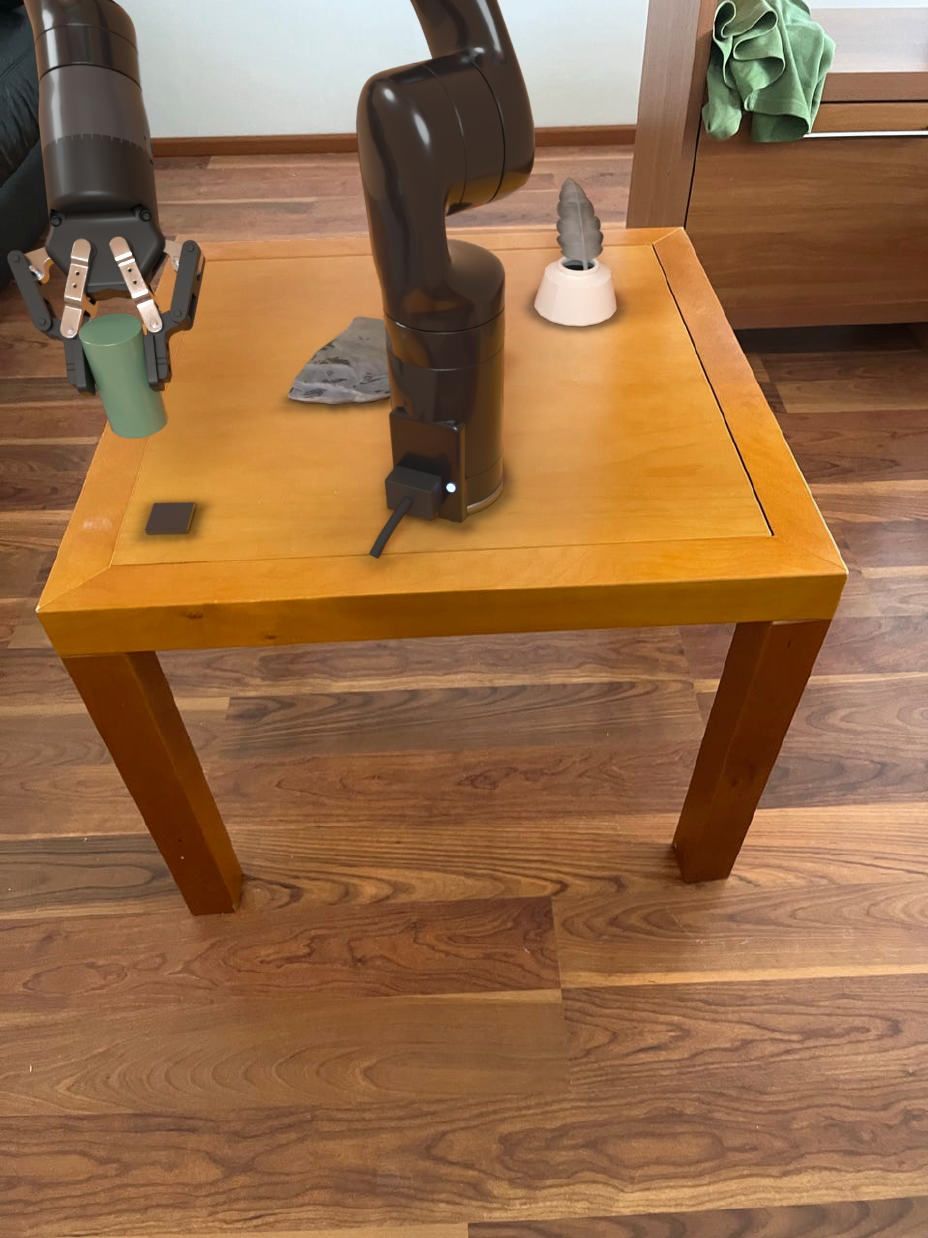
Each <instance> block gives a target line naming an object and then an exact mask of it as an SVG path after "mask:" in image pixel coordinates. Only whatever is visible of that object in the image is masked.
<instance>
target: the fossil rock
mask: <svg viewBox="0 0 928 1238" xmlns="http://www.w3.org/2000/svg"><path fill="white" fill-rule="evenodd" d="M287 397H288V399H289V400H291V401H294V402H298V403H303V404H304V403H306V404H307V403H308V404H310V403H311V404H312V403H313V404H314V403H317V404H319V403H321V404H322V403H323V404H328V405H342V404H350V403H358V404H359V403H360V404H362V403H363V404H364V403H369V402H376V401H381V400H385V399H388V398H390V388H389V376H388V363H387V351H386V337H385V325H384V319H380V318H374V317H368V316H357V317H354V318H353V319H352V320H351V321H350V322H349V325H348V326H347V328H346V329H345V330H344V331H343V332H341V333H340V334H339V335H337V336H335V337H334V338H333V339H332V340H330V341H329V342H327V343H326V344H325V345H323V346H322V347H321V348H319V349H318V350H316V352H314V354H313V355H312V357H311V358H310V359H309V360H308V361H307V362H306V363H305V364H304V366H303V367H302V369H301V370H300V372H299V373H298V374H297V375H296V376H295V378H294V380H293V382H292V385H291V388H290V389H289V391H288V395H287Z"/></svg>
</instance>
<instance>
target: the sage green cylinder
mask: <svg viewBox="0 0 928 1238" xmlns="http://www.w3.org/2000/svg"><path fill="white" fill-rule="evenodd" d="M143 335H146V334H145V330H144V326H143V324H142V322H141V320H140V319H139V318H138V317H136V316H134V315H132V314H127V313H109V314H105V315H100V316H97V317H94V318H93V319H92V320H90V321H88V322H87V323H85V324H84V325H83V326H82V327H81V329H80V331H79V338H80V341H81V344H82V347H83V349H84V352H85V355H86V358H87V361H88V364H89V367H90V370H91V373H92V375H93V378H94V381H95V388H96V391H97V392H98V395H99V398H100V401H101V404H102V407H103V410H104V412H105V416H106V418H107V421H108V424H109V427H110V430H111V431H112V433H114V435H116V436H117V437H119V438H123V439H128V440H130V439H131V440H136V439H143V438H149V437H151V436H153V435H155V434H157V433H159V432H160V431H162V430H163V429H164V428H165V427H166V426H167V424H168V422H169V414H168V410H167V406H166V403H165V400H164V396H163V393H162V392H163V391H159V392H154V391H153V390H152V389H151V388H150V387H149V384H148V377H147V367H146V357H145V348H144V337H143Z"/></svg>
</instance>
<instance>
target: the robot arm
mask: <svg viewBox="0 0 928 1238" xmlns="http://www.w3.org/2000/svg"><path fill="white" fill-rule="evenodd" d="M409 2H410V3H411V6H412V8H413V10H414V12H415V15H416V17H417V20H418V22H419V25H420V27H421V31H422V33H423V35H424V38H425V41H426V44H427V47H428V50H429V53H430V56H431V58H429V59H425V60H420V61H415V62H412V63H411V62H410V63H407V64H402V65H399V66H395V67H391V68H388V69H385V70H381V71H379V72H376V73H374V74H372V75H371V76H370V77H369V78H368V79H367V80H366V81H365V82H364V84H363V86H362V88H361V90H360V94H359V95H358V100H357V105H356V114H355V131H356V132H355V133H356V149H357V156H358V164H359V173H360V177H361V185H362V191H363V197H364V204H365V211H366V218H367V220H366V221H367V226H368V227H367V228H368V234H369V235H368V236H369V242H370V250H371V256H372V260H373V264H374V268H375V271H376V276H377V279H378V283H379V285H380V286H379V287H380V292H381V303H382V313H383V320H384V325H385V337H386V351H387V363H388V376H389V388H390V397H389V399H390V412H389V413H388V422H389V423H388V425H389V432H390V433H389V434H390V445H391V456H392V470H391V471H390V472H389V474H388V475H387V476H386V478H384V488H385V499H386V508H387V509H388V510H392V511H393V512H392V514H391V515H390V517H389V518H388V520H387V521H386V523H385V524H384V526H383V527H382V529H381V531H380V532H379V534H378V535H377V537H376V539H375V541H374V543H373V545H372V547H371V549H370V551H369V553H368V555H370V556H371V557H372V558H375V559H377V560H378V559H380V556H381V554H382V552H383V550H384V549H385V547H386V545H387V543H388V541H389V539H390V538H391V536H392V535H393V534H394V532H395V530H396V528H397V527H398V526H399V524H400V522H401V521H402V520H403V518H404V517H405V516H406V514H407V515H410V516H413V517H417V518H421V519H423V520H428V521H433V520H434V519H435V517H437V518H441V519H445V520H448V521H452V522H455V523H463V522H464V520H465V519H466V517H468V516H469V515H472V514H476V513H477V512H481V511H482V510H485V509H486V508H488V507H490V506H491V505H492V504H493V503H495V501H496V500H498V499H499V497H500V495H501V493H502V491H503V488H504V469H503V454H504V453H503V452H504V445H503V444H504V394H505V393H504V391H505V389H504V388H505V342H506V341H505V337H506V302H507V301H506V300H507V298H506V297H507V295H506V293H507V279H506V277H507V276H506V270H505V267H504V265H503V263H502V262H501V260H500V258H499V257H498V256H497V255H495V254H494V252H492V251H490V250H488V249H486V248H484V247H482V246H480V245H477V244H476V243H473V242H469V241H467V240H461V239H455V238H448V236H447V226H446V218H447V217H450V216H455V215H456V214H460V213H464V212H466V211H470V210H473V209H476V208H480V207H482V206H485V205H488V204H492V203H495V202H498V201H501V200H504V199H507V198H509V197H511V196H513V195H515V194H517V193H518V192H520V191H521V190H522V189H523V188H524V187H525V186H526V184H527V183H528V181H529V179H530V178H531V174H532V171H533V168H534V165H535V157H536V133H535V122H534V116H533V111H532V105H531V100H530V96H529V93H528V89H527V85H526V81H525V78H524V74H523V72H522V68H521V65H520V62H519V59H518V56H517V53H516V50H515V48H514V47H515V46H514V44H513V42H512V38H511V35H510V32H509V30H508V26H507V24H506V21H505V18H504V16H503V15H504V14H503V13H502V9H501V7H500V3H499V0H409ZM23 3H24V7H25V9H26V12H27V15H28V19H29V22H30V26H31V28H32V33H33V42H34V51H35V60H36V68H37V78H38V79H37V80H38V90H39V91H38V92H39V94H38V95H39V96H38V97H39V99H38V124H39V125H38V126H39V134H40V135H39V137H40V145H41V153H42V154H41V155H42V162H43V165H42V166H43V173H44V182H45V192H46V202H47V203H46V204H47V213H48V220H49V231H48V234H47V237H46V238H45V242H44V246H43V247H40V248H37V249H35V250H32V251H28V252H26V253H23V252H22V251H20V250H17V249H14V250H11V251H10V252H9V253H8V254H7V258H6V259H7V262H8V265H9V267H10V269H11V273H12V274H13V277H14V280H15V282H16V284H17V287H18V289H19V292H20V294H21V297H22V299H23V302H24V304H25V307H26V308H27V311H28V314H29V317H30V319H31V321H32V323H33V326H34V327H35V329H36V330H38V331H39V332H40V333H42V334H43V335H45V336H46V337H48V338H49V339H51V340H58V341H62V343H63V349H64V350H63V351H64V359H65V368H66V369H65V370H66V378H67V381H68V382H69V384H70V386H72V387H74V388H75V389H76V390H77V392H78V393H79V394H80V395H81V396H84V397H96V394H97V387H96V384H95V381H94V378H93V375H92V373H91V370H90V367H89V364H88V361H87V358H86V355H85V352H84V349H83V347H82V344H81V341H80V338H79V331H80V329H81V327H82V326H83V325H84V324H85V323H87V322H88V321H90V320H92V319H94V318H96V316H97V314H98V308H99V304H100V302H102V301H104V302H105V301H108V300H111V299H114V298H120V299H125V300H133V302H134V303H135V305H136V307H137V309H138V313H139V314H140V316H141V319H142V322H143V324H144V326H145V329H146V334H145V335H143V337H144V348H145V357H146V367H147V377H148V384H149V387H150V388H151V389H152V390H153V391H154V392H159V391H161V392H165V390H166V384H169V383H171V381H172V378H173V369H172V360H171V352H170V351H171V348H170V340H171V338H172V336H174V335H176V334H178V333H180V332H182V331H183V332H188V331H191V330H192V328H193V327H194V324H195V318H196V313H197V307H198V303H199V298H200V294H201V293H200V292H201V287H202V281H203V276H204V272H205V266H206V257H205V254H204V252H203V250H202V249H201V247H200V246H199V244H198V243H197V242H196V241H195V240H192V239H188V240H185V241H184V242H179V241H175V240H171V239H168V238H167V237H166V236H165V235H164V233H163V232H162V231H163V230H162V229H161V225H160V218H159V208H158V198H157V197H158V196H157V189H156V188H157V187H156V178H155V168H154V167H155V166H154V153H155V152H154V143H153V141H152V138H151V130H150V122H149V119H148V113H147V109H146V106H145V99H144V94H143V84H142V73H141V63H140V54H139V53H140V52H139V44H138V43H139V42H138V37H137V32H136V31H137V30H136V27H135V25H134V21H133V19H132V18H131V16H130V15H129V13H128V12H127V11H126V10H125V8H123V7H122V6H121V5H120V4H119V3H117V2H116V1H115V0H23ZM167 257H168V258H170V266H171V268H172V269H173V271H174V272H175V274H176V275H175V281H174V286H173V292H172V297H171V301H170V303H171V304H170V307H169V310H167V311H164V312H163V311H162V309H161V308H162V307H161V304H160V303H159V301H158V298H157V296H156V293H155V291H154V288H153V286H152V281H153V280H154V278H155V277H156V275H157V273H158V272H159V270H160V268H161V267H162V265H163V263H164V262H165V260H166V258H167ZM53 264H54V265H55V266H56V267H57V268H58V269H59V271H60V272H61V273H63V275H64V276H65V277H66V279H67V280H66V285H65V291H64V293H63V294H64V295H63V302H64V308H63V313H62V317H61V319H59V318H58V315H57V313H56V310H55V308H54V305H53V303H52V300H51V298H50V295H49V293H48V290H47V288H46V286H45V284H46V283H48V282H49V280H50V277H51V276H50V271H49V270H50V267H51V266H52V265H53Z"/></svg>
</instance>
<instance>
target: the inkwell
mask: <svg viewBox="0 0 928 1238" xmlns="http://www.w3.org/2000/svg"><path fill="white" fill-rule="evenodd" d="M558 200H559V201H558V203H557V205H556V213H557V216H558V217H559V219H558V220H557V221H556V223H555V224H556V225H555V226H556V227H555V228H556V230H557V232H558V233H559V235H558V236H556V242H557V244H558V246H560V248H561V250H560V254H562V256H561V257H560V258H559V259H557V260H555V261H552V262H550V263H549V264H548V265H547V266H546V267H545V269H544V271H543V274H542V277H541V280H540V283H539V286H538V289H537V292H536V295H535V298H534V303H533V304H534V305H533V307H534V308H535V311H536V312H537V313H538V314H539V316H540V317H542V318H544V319H545V320H547V321H548V322H550V323H554V324H558V325H562V326H566V327H587V326H593V325H599V324H600V323H602V322H605V321H607V320H610V319H611V317H612V316H613V315H614V314H615V312H616V311H617V310H618V309H617V308H618V307H617V297H616V290H615V284H614V278H613V274H612V270H611V269H610V268H609V267H608V266H607V264H605V263H603V262H602V261H599V260H598V259H597V258H598V257H599V256H601V254H602V253H603V251H604V247H603V246H602V244H603V241H604V238H605V237H604V234H603V232H602V231H601V229H602V223H601V220H600V218H599V217H598V216H597V215H596V214H595V213H596V212H595V207H594V205H593V203H592V201H591V200H590V198H589V197H587V194H586V193H585V191H584V189H583V188H582V187H581V185H580V184H579V183H578V182H577V181H576V180H575V179H573V178H572V177H566V178H565V180H564V182H563V183H562V185H561V188H560V191H559V195H558Z"/></svg>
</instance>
